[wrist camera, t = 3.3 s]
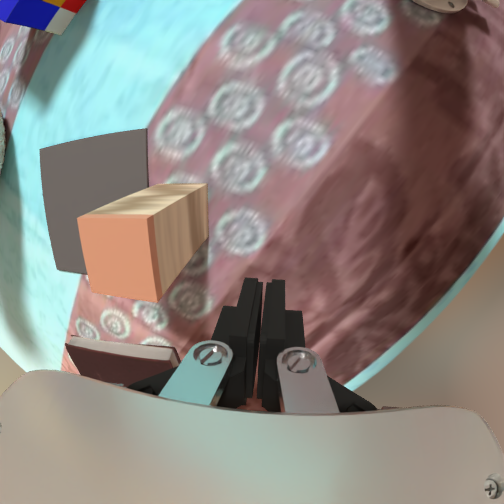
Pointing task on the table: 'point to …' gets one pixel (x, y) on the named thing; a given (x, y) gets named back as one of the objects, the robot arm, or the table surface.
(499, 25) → the table surface
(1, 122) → the vase
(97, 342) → the book
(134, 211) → the tall block
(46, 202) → the mat
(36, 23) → the puzzle toy
